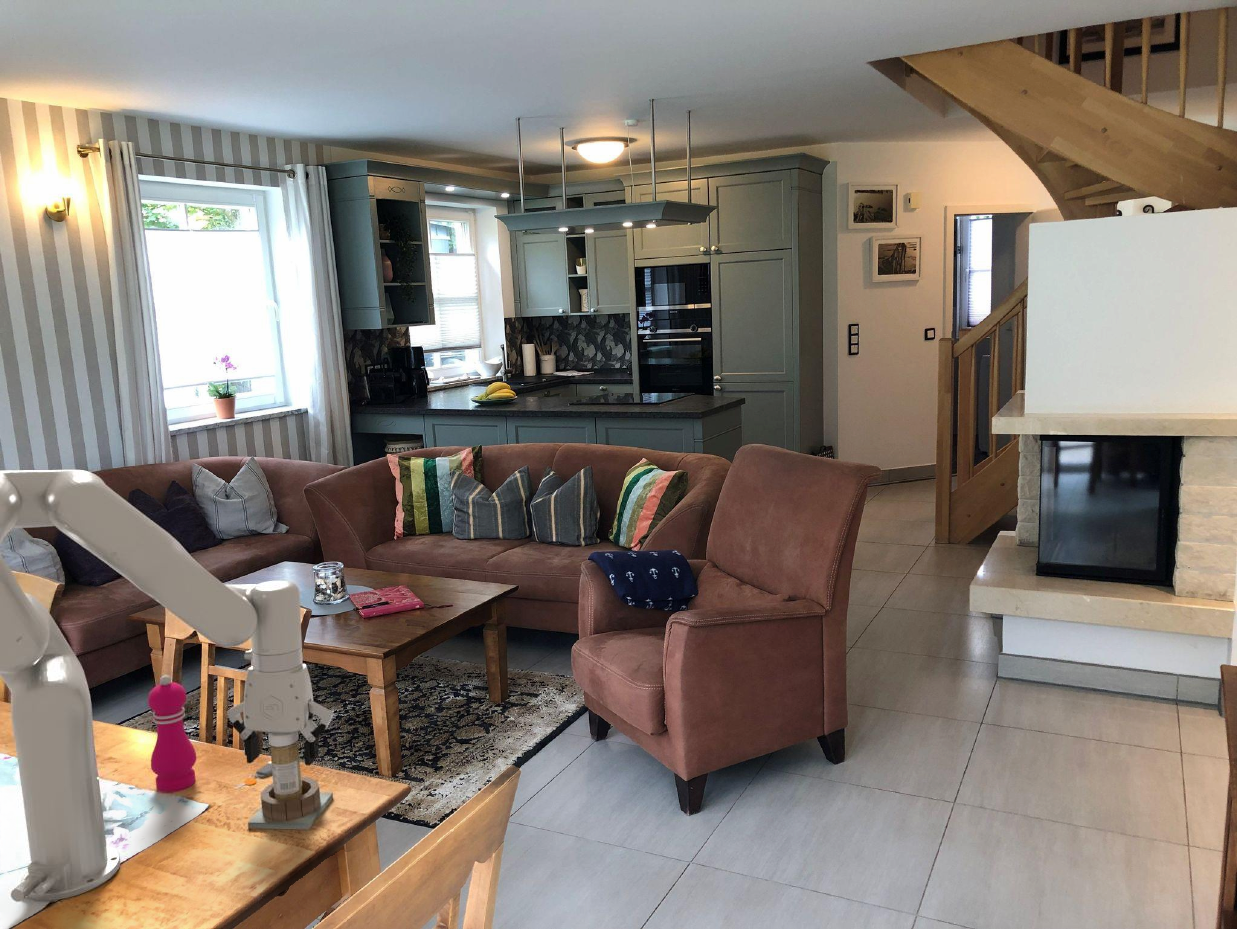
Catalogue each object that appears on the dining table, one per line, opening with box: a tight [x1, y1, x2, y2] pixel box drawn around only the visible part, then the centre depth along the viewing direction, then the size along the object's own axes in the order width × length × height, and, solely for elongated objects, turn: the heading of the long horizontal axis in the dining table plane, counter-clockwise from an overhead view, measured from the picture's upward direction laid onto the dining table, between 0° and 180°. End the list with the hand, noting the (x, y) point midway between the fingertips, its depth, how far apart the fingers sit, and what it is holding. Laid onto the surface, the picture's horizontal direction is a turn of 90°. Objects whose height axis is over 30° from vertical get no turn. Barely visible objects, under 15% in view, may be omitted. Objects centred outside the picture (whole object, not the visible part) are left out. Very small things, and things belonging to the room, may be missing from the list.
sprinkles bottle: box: [267, 732, 302, 800], centre depth 154 cm, size 5×5×14 cm
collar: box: [247, 776, 334, 830], centre depth 155 cm, size 10×10×4 cm
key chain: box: [233, 760, 273, 790], centre depth 168 cm, size 13×4×2 cm, turn 158°
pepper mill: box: [147, 674, 197, 793], centre depth 165 cm, size 7×7×20 cm
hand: (282, 760), depth 154 cm, fingers open, 9 cm apart
